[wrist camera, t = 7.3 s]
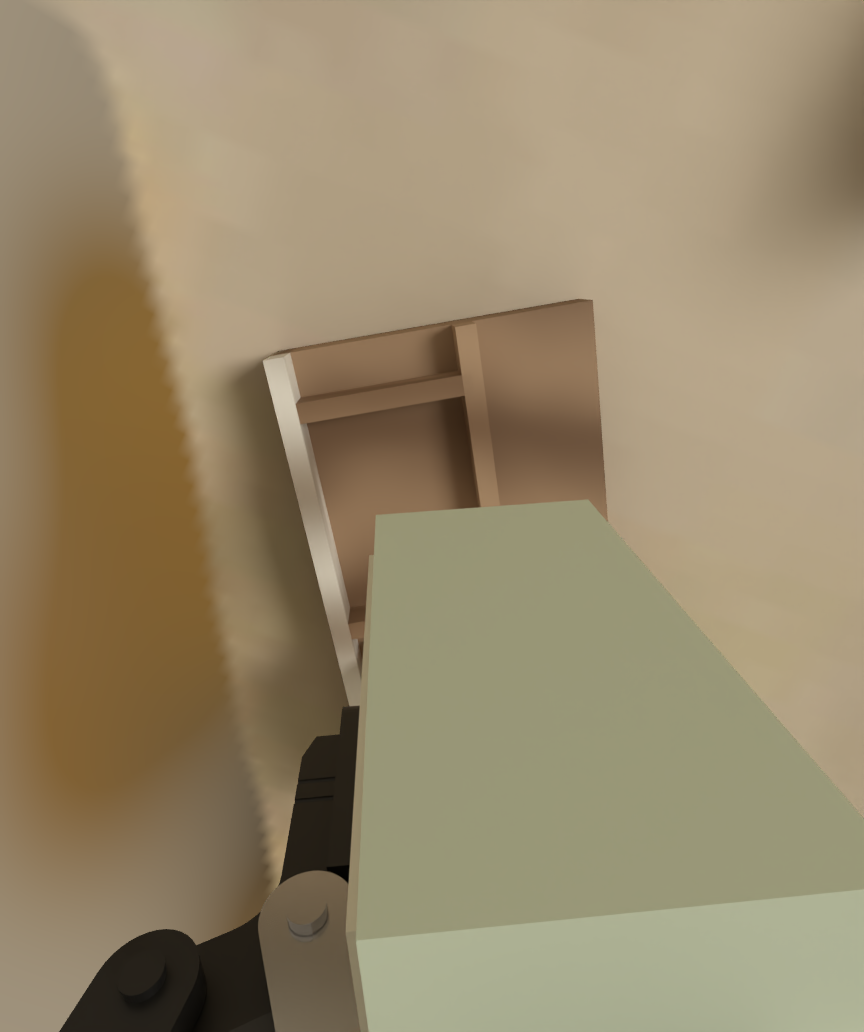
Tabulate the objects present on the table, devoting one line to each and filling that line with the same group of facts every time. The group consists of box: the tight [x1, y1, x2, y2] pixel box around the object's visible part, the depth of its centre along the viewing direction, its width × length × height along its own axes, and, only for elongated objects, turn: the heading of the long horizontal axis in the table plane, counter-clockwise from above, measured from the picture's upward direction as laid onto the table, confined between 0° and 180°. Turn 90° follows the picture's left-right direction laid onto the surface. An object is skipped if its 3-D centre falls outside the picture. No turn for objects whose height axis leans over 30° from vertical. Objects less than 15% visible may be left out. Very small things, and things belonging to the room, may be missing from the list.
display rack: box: [263, 299, 608, 706], centre depth 30 cm, size 24×13×4 cm, turn 9°
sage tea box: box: [346, 500, 864, 1032], centre depth 11 cm, size 8×5×9 cm, turn 3°
